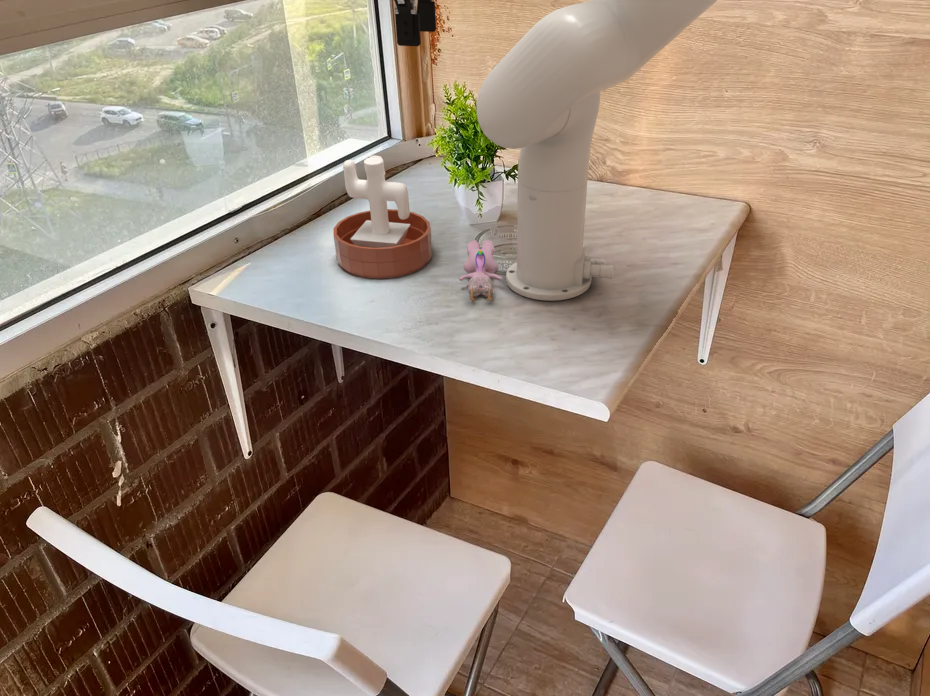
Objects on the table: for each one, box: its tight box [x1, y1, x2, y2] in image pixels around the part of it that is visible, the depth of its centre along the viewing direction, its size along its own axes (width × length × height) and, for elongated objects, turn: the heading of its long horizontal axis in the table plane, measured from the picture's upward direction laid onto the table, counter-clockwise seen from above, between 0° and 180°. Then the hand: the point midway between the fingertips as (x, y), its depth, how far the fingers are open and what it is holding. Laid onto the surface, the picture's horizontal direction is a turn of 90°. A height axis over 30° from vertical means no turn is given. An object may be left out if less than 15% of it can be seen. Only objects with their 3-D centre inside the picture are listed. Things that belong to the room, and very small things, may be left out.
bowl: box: [332, 208, 433, 279], centre depth 118 cm, size 15×15×5 cm
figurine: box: [342, 155, 411, 248], centre depth 115 cm, size 7×9×15 cm
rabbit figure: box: [458, 239, 503, 304], centre depth 112 cm, size 6×6×15 cm
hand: (417, 38), depth 109 cm, fingers open, 9 cm apart
